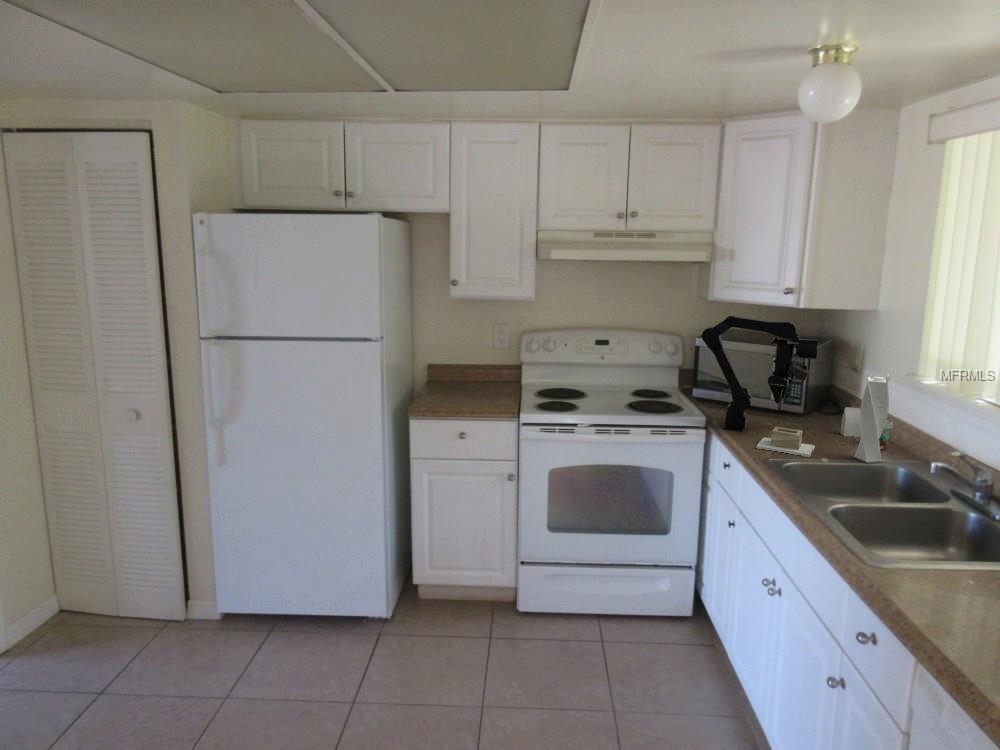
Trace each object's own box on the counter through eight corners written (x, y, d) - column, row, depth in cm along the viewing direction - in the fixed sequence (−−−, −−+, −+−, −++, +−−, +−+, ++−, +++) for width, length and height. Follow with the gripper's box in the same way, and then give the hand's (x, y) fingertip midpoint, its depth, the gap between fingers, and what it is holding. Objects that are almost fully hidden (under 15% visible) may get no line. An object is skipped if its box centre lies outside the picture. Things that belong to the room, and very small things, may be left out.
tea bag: (864, 437, 233) (867, 409, 231) (843, 436, 234) (846, 408, 233) (860, 434, 237) (863, 407, 235) (840, 433, 238) (843, 406, 236)
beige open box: (798, 450, 213) (799, 435, 212) (770, 445, 217) (771, 430, 216) (801, 445, 218) (802, 430, 217) (774, 441, 223) (775, 426, 222)
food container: (896, 453, 214) (900, 424, 213) (875, 452, 216) (879, 422, 214) (882, 443, 226) (886, 414, 224) (863, 441, 228) (866, 413, 226)
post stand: (756, 448, 217) (757, 432, 216) (763, 440, 227) (765, 424, 226) (809, 457, 209) (811, 440, 208) (814, 448, 219) (816, 432, 218)
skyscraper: (890, 464, 204) (902, 374, 198) (866, 465, 202) (878, 375, 197) (870, 455, 212) (881, 369, 207) (847, 456, 210) (858, 370, 205)
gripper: (805, 363, 219) (800, 408, 222) (812, 356, 234) (808, 399, 237) (769, 359, 225) (765, 404, 228) (779, 353, 240) (775, 394, 243)
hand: (779, 400), depth 234 cm, fingers open, 9 cm apart
